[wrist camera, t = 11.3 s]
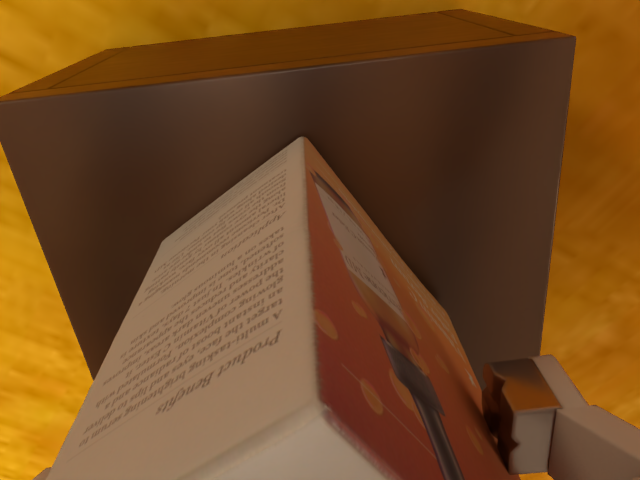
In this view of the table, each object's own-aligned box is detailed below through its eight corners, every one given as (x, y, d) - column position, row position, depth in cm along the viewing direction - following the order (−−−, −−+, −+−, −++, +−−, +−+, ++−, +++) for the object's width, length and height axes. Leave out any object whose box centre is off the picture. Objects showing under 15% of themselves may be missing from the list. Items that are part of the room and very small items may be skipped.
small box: (448, 311, 18) (624, 692, 8) (316, 392, 19) (341, 797, 10) (303, 125, 15) (327, 405, 5) (156, 237, 16) (-30, 618, 7)
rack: (462, 8, 24) (577, 35, 14) (453, 439, 36) (511, 605, 27) (104, 49, 23) (-17, 103, 14) (218, 466, 36) (194, 642, 27)
